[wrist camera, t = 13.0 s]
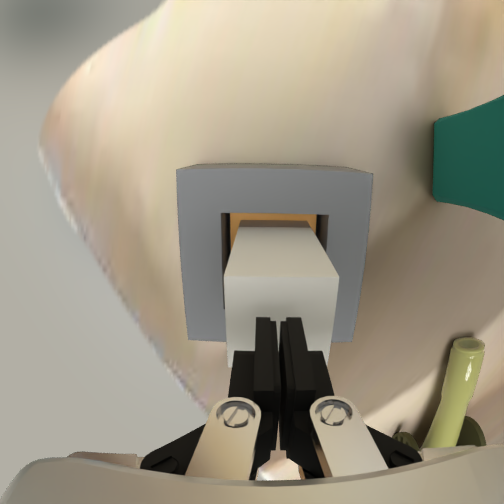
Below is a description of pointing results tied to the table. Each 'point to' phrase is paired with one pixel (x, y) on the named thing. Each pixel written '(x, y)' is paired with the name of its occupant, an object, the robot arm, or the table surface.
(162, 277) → the table surface
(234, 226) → the orange square tile
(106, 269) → the table surface
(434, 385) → the table surface
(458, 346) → the cannon
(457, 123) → the digital multimeter
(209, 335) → the socket
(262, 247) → the plug
